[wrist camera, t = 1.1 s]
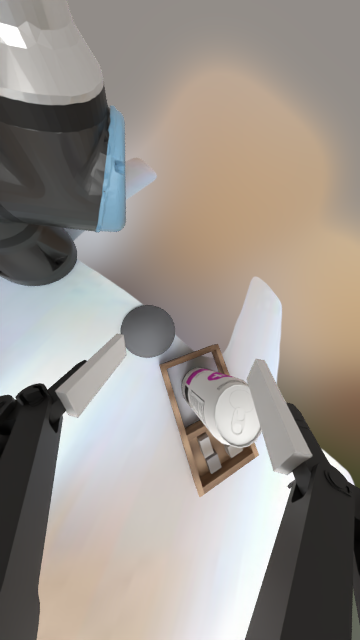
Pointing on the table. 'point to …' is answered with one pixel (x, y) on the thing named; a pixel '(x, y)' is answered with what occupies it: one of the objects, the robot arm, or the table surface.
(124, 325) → the coaster
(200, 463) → the parts tray
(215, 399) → the supplement can
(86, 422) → the table surface
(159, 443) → the table surface
